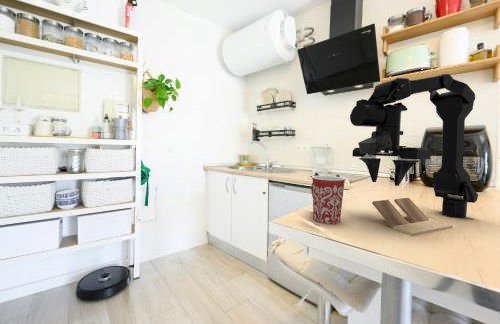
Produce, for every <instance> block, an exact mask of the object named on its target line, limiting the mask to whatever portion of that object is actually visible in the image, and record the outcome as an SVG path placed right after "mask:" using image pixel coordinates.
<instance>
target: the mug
mask: <svg viewBox="0 0 500 324" xmlns="http://www.w3.org/2000/svg"><path fill="white" fill-rule="evenodd" d="M311 178H312V183H311V197H312V215H313V216H312V219H313V221H315V222H316V223H319V224H323V225H337V224H340V223H341V217H342V216H341V215H342V208H343V198H344V190H345V188H344V187H345V182H346V178H345V177H342V176H341V177H340V176H334V175H313V176H311ZM316 223H314V224H315V226H319V227H320V225H319V224H316Z"/></svg>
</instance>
